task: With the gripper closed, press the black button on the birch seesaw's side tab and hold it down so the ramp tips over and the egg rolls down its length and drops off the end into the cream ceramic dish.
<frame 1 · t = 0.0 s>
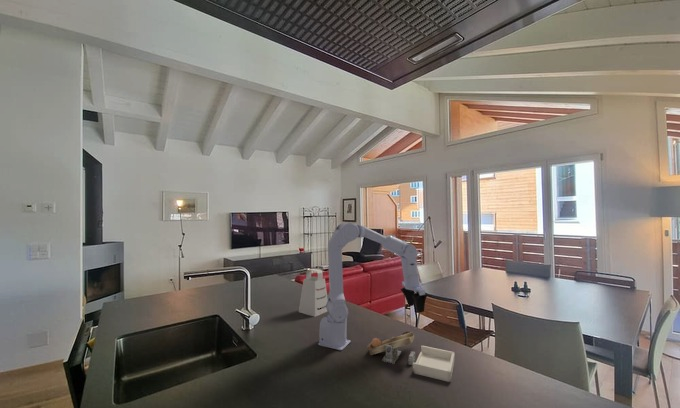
hand: (416, 308, 112), 11 cm above the worktop, tool pointing down, fingers open, 7 cm apart
dish: (434, 366, 89), on the worktop
egg: (376, 343, 97), point 3 cm above the worktop, tilted 11°, touching lever
lever: (393, 338, 98), point 5 cm above the worktop, hinge at -26.0°, touching egg
pivot base: (392, 356, 95), on the worktop
grater: (313, 311, 139), on the worktop
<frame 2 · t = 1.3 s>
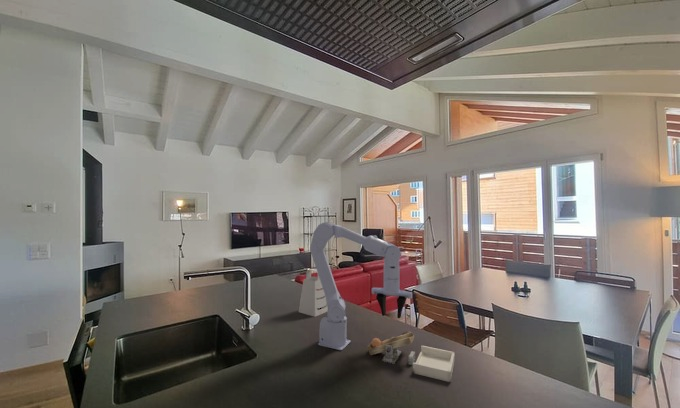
hand: (391, 316, 103), 10 cm above the worktop, tool pointing down, fingers open, 5 cm apart
nothing on the worktop moved.
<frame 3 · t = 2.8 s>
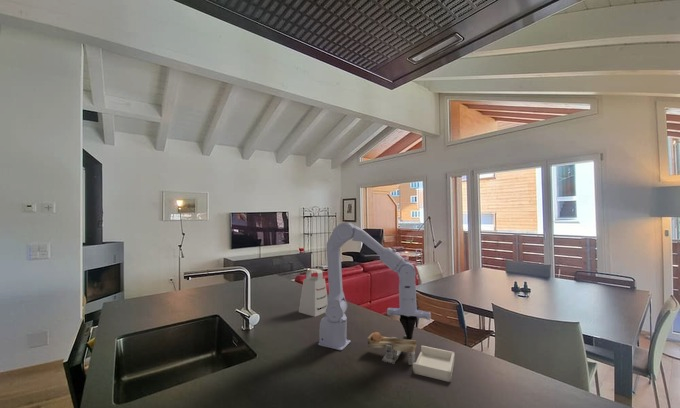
hand: (409, 338, 98), 5 cm above the worktop, tool pointing down, fingers closed, pressing on lever
egg: (376, 337, 97), point 5 cm above the worktop, tilted 16°, touching lever
lever: (394, 338, 98), point 5 cm above the worktop, hinge at -4.6°, touching egg, gripper
everything else where it was.
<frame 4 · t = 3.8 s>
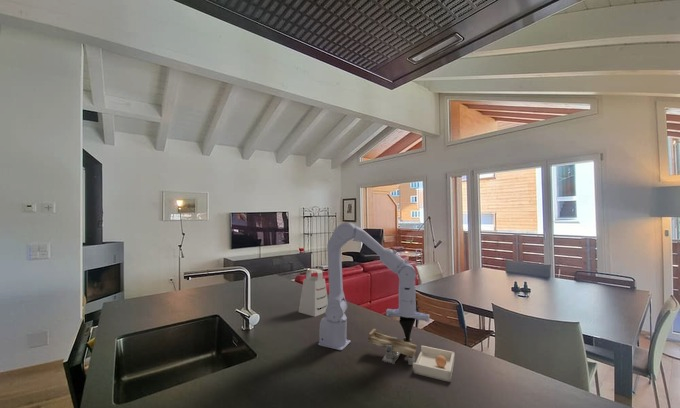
hand: (407, 339, 99), 4 cm above the worktop, tool pointing down, fingers closed, pressing on lever
egg: (440, 361, 88), point 2 cm above the worktop, tilted 34°, touching dish
lever: (394, 338, 97), point 5 cm above the worktop, hinge at 6.9°, touching gripper
everything else where it was.
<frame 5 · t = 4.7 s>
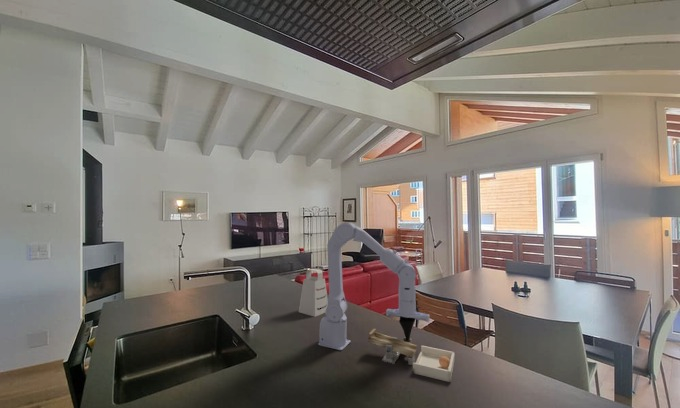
hand: (407, 339, 99), 4 cm above the worktop, tool pointing down, fingers closed, pressing on lever
egg: (444, 361, 87), point 2 cm above the worktop, tilted 82°, touching dish
lever: (394, 338, 97), point 5 cm above the worktop, hinge at 7.2°, touching gripper
everything else where it was.
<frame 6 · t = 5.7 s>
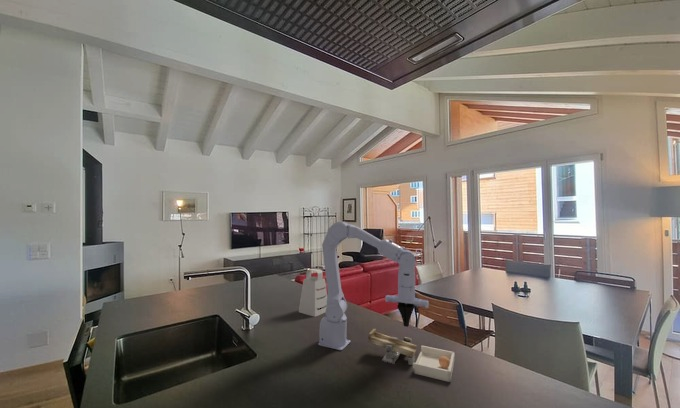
hand: (406, 325, 99), 9 cm above the worktop, tool pointing down, fingers closed
lever: (394, 338, 97), point 5 cm above the worktop, hinge at 7.2°
everything else where it was.
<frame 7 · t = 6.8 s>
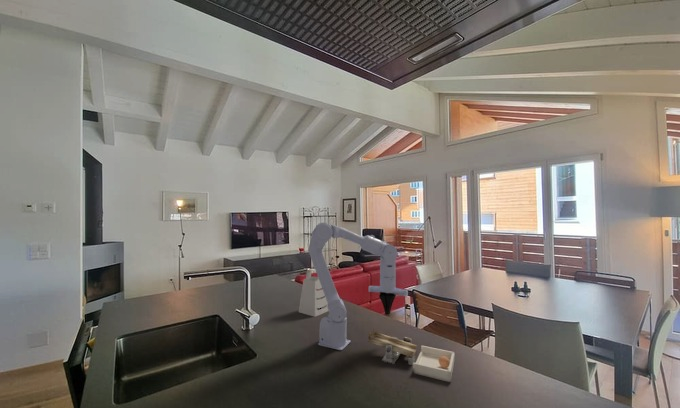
hand: (387, 313, 106), 10 cm above the worktop, tool pointing down, fingers closed
nothing on the worktop moved.
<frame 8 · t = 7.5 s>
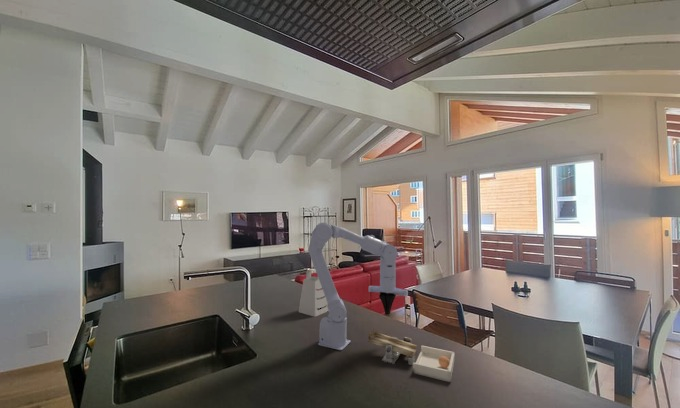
hand: (387, 313, 106), 10 cm above the worktop, tool pointing down, fingers closed
nothing on the worktop moved.
at the end: egg inside the target area on the dish (2.7 cm from its centre), point 2.1 cm above the dish's base; egg touching dish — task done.
